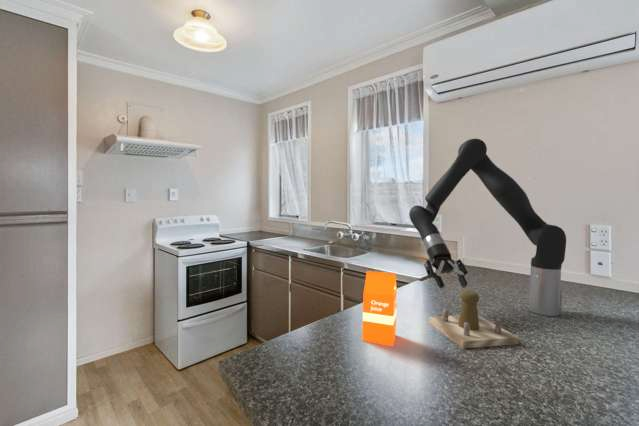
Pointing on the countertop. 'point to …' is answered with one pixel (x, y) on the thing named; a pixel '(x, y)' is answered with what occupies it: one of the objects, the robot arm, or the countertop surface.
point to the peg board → (473, 332)
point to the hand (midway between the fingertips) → (453, 287)
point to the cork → (469, 310)
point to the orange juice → (379, 308)
